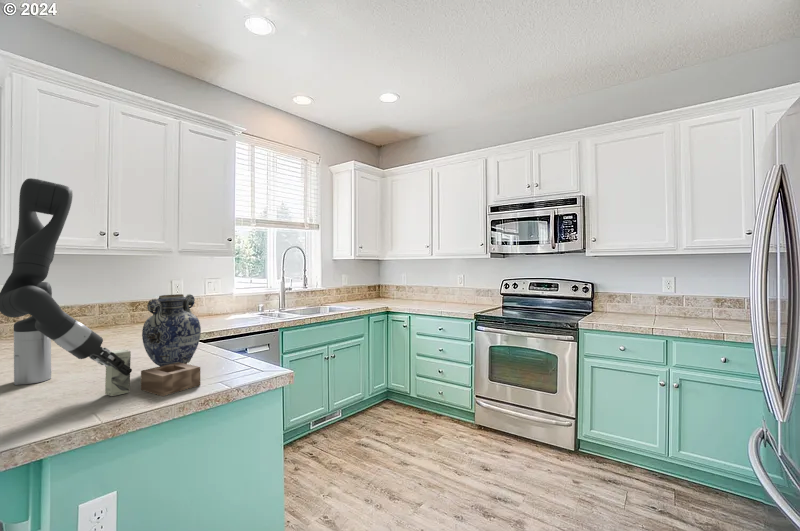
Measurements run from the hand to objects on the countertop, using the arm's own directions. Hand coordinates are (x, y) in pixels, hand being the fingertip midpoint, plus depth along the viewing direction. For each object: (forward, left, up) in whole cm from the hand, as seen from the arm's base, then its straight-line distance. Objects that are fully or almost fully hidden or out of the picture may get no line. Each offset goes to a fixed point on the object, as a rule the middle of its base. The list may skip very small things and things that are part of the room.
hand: (125, 371), depth 122 cm
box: (-2, 0, -6) cm, 7 cm away
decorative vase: (+17, +16, -6) cm, 24 cm away
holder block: (+11, -5, -6) cm, 14 cm away
